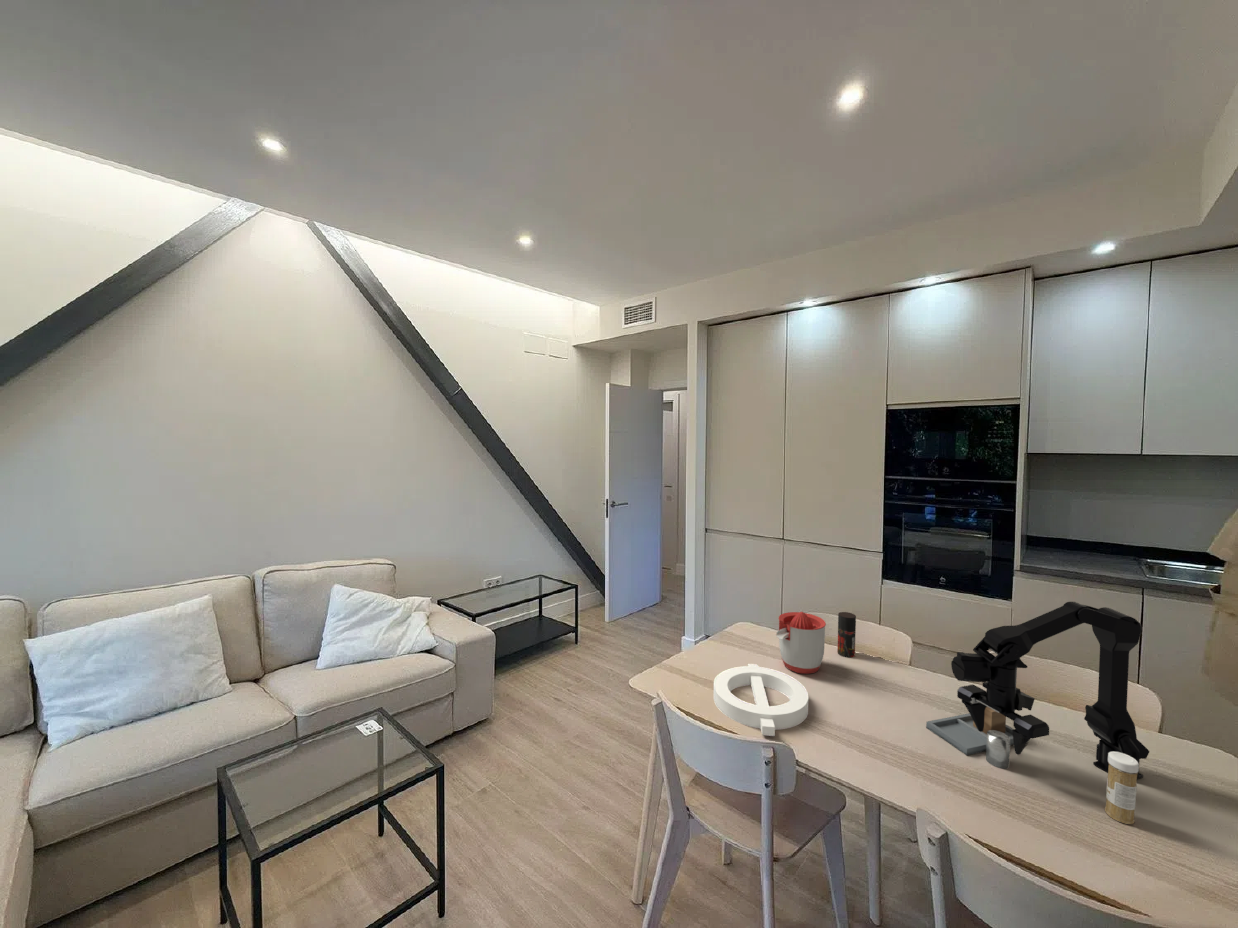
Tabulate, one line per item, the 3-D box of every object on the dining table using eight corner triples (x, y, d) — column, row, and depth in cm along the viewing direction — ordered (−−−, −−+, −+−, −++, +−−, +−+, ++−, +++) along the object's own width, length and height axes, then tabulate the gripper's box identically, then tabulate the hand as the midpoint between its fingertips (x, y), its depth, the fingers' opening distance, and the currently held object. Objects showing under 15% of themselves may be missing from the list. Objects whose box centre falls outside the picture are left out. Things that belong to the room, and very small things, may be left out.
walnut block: (1005, 733, 131) (1006, 709, 131) (990, 736, 130) (992, 711, 130) (987, 723, 136) (988, 699, 136) (973, 725, 135) (974, 701, 134)
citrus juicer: (764, 660, 176) (765, 607, 174) (804, 653, 181) (805, 601, 179) (792, 681, 161) (793, 623, 159) (835, 673, 166) (836, 616, 165)
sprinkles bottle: (1104, 805, 107) (1107, 747, 106) (1134, 816, 104) (1137, 756, 103) (1105, 817, 104) (1108, 757, 103) (1136, 829, 100) (1140, 767, 100)
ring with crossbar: (769, 743, 130) (769, 726, 129) (694, 697, 152) (694, 683, 152) (826, 707, 146) (827, 692, 146) (751, 671, 169) (752, 658, 168)
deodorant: (839, 648, 184) (840, 610, 183) (856, 653, 181) (857, 614, 180) (835, 654, 180) (836, 615, 179) (852, 659, 176) (853, 619, 175)
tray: (1025, 742, 129) (1025, 735, 128) (966, 755, 124) (966, 748, 124) (981, 716, 140) (981, 710, 140) (926, 727, 135) (926, 721, 135)
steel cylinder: (1013, 766, 119) (1015, 739, 119) (999, 770, 118) (1000, 742, 118) (995, 754, 124) (996, 728, 123) (981, 757, 123) (982, 731, 122)
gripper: (1068, 697, 113) (1064, 760, 114) (989, 660, 131) (986, 715, 132) (1032, 704, 110) (1029, 769, 111) (956, 666, 128) (954, 722, 129)
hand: (998, 742), depth 121 cm, fingers open, 9 cm apart
